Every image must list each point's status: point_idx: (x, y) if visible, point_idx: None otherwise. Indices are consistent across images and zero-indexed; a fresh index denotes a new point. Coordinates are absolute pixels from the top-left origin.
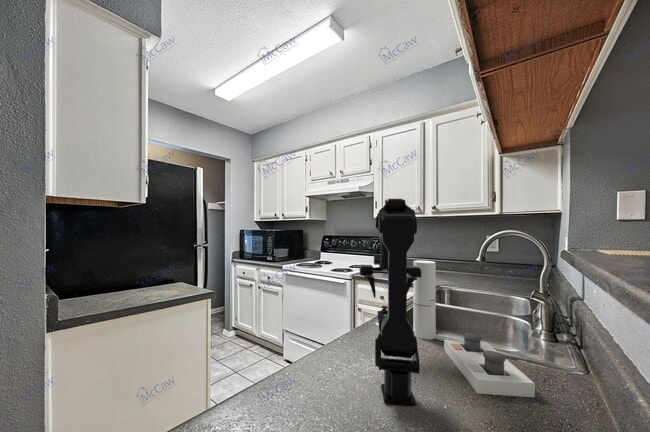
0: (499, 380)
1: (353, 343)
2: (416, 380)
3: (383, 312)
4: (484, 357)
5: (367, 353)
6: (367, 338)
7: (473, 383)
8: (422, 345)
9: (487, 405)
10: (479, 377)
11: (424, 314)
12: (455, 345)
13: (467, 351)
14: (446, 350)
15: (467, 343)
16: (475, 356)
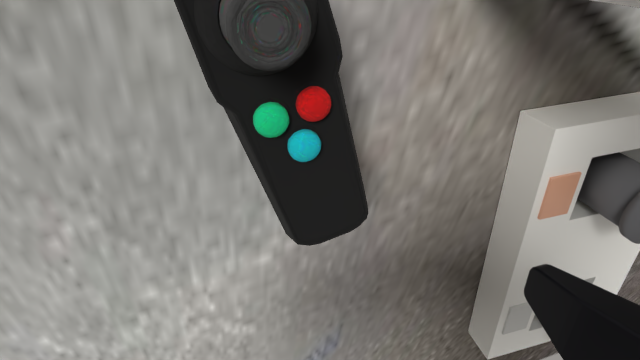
0: (535, 343)
1: (45, 161)
2: (340, 337)
3: (249, 66)
4: (593, 245)
5: (163, 245)
6: (116, 56)
7: (478, 326)
8: (444, 82)
9: (462, 357)
10: (498, 349)
11: (629, 5)
12: (562, 186)
13: (578, 197)
14: (521, 143)
15: (605, 215)
16: (570, 247)
